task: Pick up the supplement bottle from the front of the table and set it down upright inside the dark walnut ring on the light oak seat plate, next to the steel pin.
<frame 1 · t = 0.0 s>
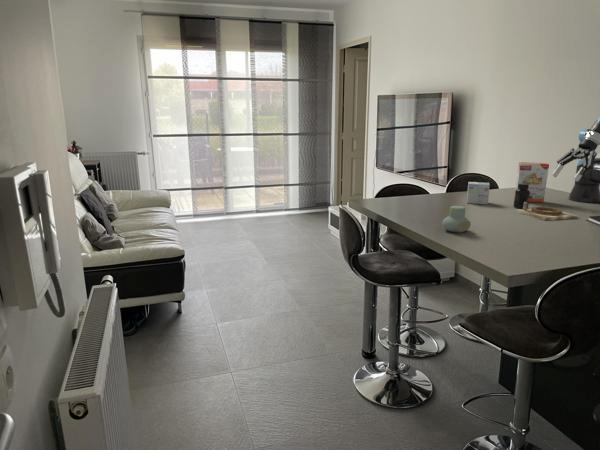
hand: (564, 177, 228), 15 cm above the table, tool tilted 35°, fingers open, 13 cm apart
cracker box: (528, 201, 248), on the table
seat plate: (545, 214, 216), on the table
supplement bottle: (520, 208, 232), on the table
light bulb box: (477, 203, 243), on the table
air freshener: (455, 231, 188), on the table
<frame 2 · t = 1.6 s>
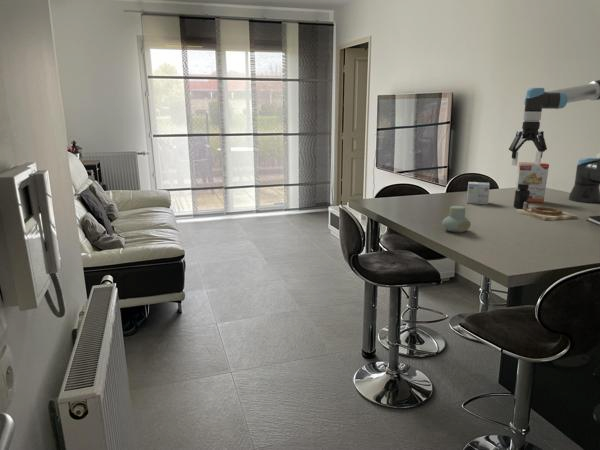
hand: (525, 165, 226), 22 cm above the table, tool pointing down, fingers open, 13 cm apart
nothing on the table moved.
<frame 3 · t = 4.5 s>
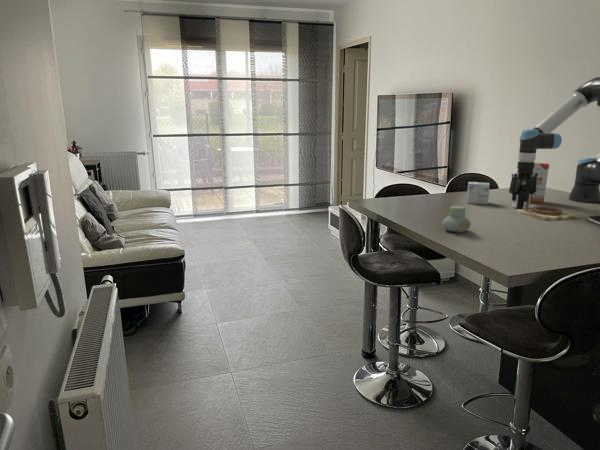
hand: (520, 206, 232), 1 cm above the table, tool pointing down, fingers closed on supplement bottle, 7 cm apart
supplement bottle: (520, 208, 232), on the table, touching gripper
everything else where it was.
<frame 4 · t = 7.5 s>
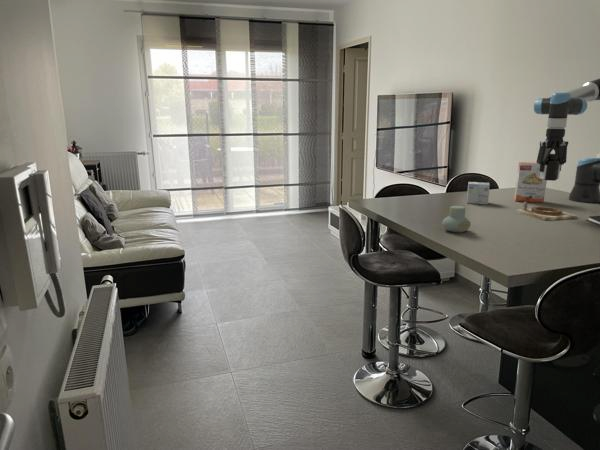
hand: (549, 178, 213), 17 cm above the table, tool pointing down, fingers closed on supplement bottle, 7 cm apart
supplement bottle: (548, 180, 213), point 16 cm above the table, touching gripper
everything else where it was.
when the fingers open (3 cm above the table, at t = 10.5 s): supplement bottle stays where it is, resting on seat plate.
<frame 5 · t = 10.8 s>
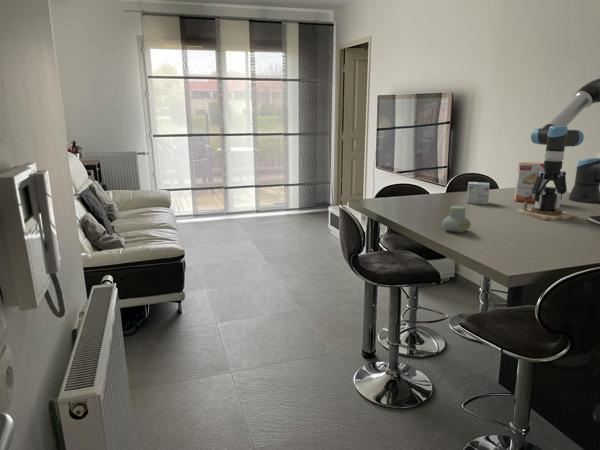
hand: (546, 207, 215), 4 cm above the table, tool pointing down, fingers open, 10 cm apart
supplement bottle: (546, 212, 216), point 1 cm above the table, touching seat plate
everything else where it was.
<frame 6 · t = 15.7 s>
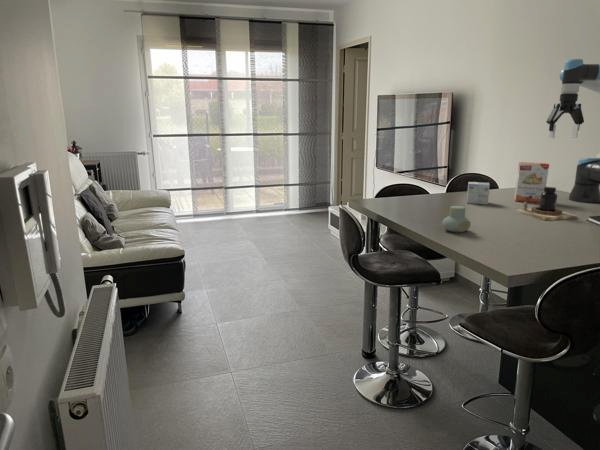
hand: (562, 137, 226), 35 cm above the table, tool pointing down, fingers open, 13 cm apart
nothing on the table moved.
at the end: supplement bottle 0.2 cm off-centre on the seat plate, point 1.0 cm above the seat plate's base; supplement bottle tilted 0°; the gripper is holding nothing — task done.
